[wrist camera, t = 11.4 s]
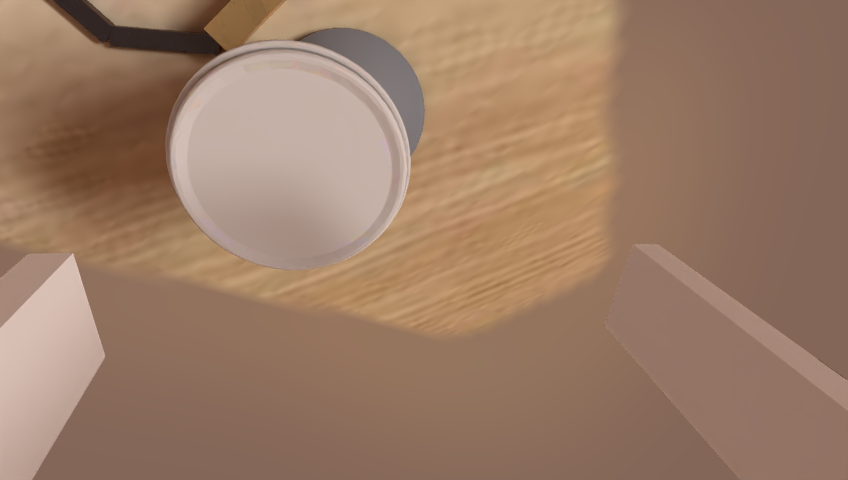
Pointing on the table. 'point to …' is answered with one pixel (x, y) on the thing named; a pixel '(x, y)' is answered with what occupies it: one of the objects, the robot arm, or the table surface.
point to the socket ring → (227, 28)
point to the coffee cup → (287, 154)
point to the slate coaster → (380, 72)
